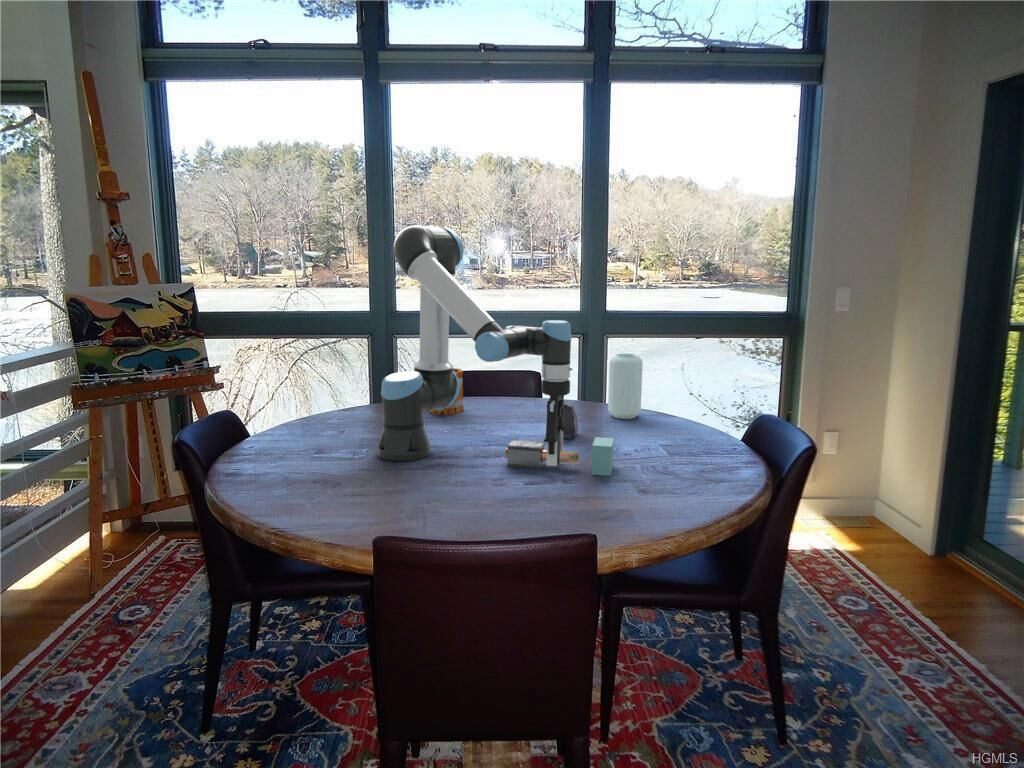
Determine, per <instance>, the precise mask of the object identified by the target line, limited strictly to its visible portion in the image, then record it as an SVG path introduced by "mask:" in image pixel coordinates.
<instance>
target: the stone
mask: <svg viewBox="0 0 1024 768" xmlns="http://www.w3.org/2000/svg"><path fill="white" fill-rule="evenodd" d="M575 409H576V408H575V406H574V403H573V402H572V403H569V402H565V401H564V427H566V431H563V430H562V431H563V439H564V438H565V439H570V440H571V439H574V438H575V437H576V435H577V433H578V431H579V425H578V415H577V413H576V410H575Z"/></svg>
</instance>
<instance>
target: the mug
mask: <svg viewBox="0 0 1024 768" xmlns="http://www.w3.org/2000/svg"><path fill="white" fill-rule="evenodd" d="M453 371H454V372H455V373H456V375H457V377H458V378H459V381H460V391H459V395H458V397H457V399H456V400H455V401H454V402H453V403H452V404H450V405H448V406H446V407H444V408H442V409H437V410H433V411H430V412H429V414H432V415H439V416H448V415H449V416H451V415H458V414H461V413H463V412H464V411H465V410H464V409H465V408H464V384H463V383H464V382H463V379H464V378H463V376H464V371H463V370H462V369H461V368H454V367H453Z"/></svg>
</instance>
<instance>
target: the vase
mask: <svg viewBox="0 0 1024 768" xmlns="http://www.w3.org/2000/svg"><path fill="white" fill-rule="evenodd" d="M608 367H609V369H608V371H609V372H608V373H609V374H608V395H607V396H608V399H607V401H608V402H607V409H608V412H609V414H610V415H611V416H612V417H614V418H615V419H619V420H631V419H635V418H636V417H637V416H638V415H639V414H640V413H641V410H642V409H641V408H642V389H643V388H642V387H643V360H642V358H641V357H640V356H638V354H635V353H627V352H626V353H623V352H622V353H617V354H616V353H615V355H613V356H612V357H611V358H610V360H609V366H608Z"/></svg>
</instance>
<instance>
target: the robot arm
mask: <svg viewBox="0 0 1024 768" xmlns="http://www.w3.org/2000/svg"><path fill="white" fill-rule="evenodd" d="M393 254H394V258H395V260H396V262H397V264H398V266H399V267H400V269H401V270H402V271H403V272H404V274H406V275H407V277H408V278H409V279H411V280H415V281H417V282H418V283H419V284H420V285H419V287H420V289H419V294H420V296H419V297H420V298H419V303H420V305H419V360H418V361H417V362H416V363H414V367H413V368H414V370H405V371H398V372H393V373H390V374H389V375H387V376H385V377H384V378H383V379H382V382H381V392H380V395H381V408H382V411H381V412H382V432H381V435H380V439H379V442H378V446H377V456H378V458H380V459H381V460H382V459H383V460H386V461H392V462H411V461H416V460H417V461H418V460H421V459H424V458H426V457H428V456H429V455H431V452H432V450H431V443H430V441H429V437H428V435H427V432H426V429H425V421H424V420H425V419H424V415H425V414H427V413H430V411H433V410H437V409H442V408H444V407H446V406H448V405H450V404H452V403H453V402H454V401H455V400H456V399H457V397H458V395H459V391H460V381H459V378H458V377H457V375H456V373H455V372H454V371H453V368H454V365H453V364H452V363H451V362H450V361H449V342H450V341H449V339H450V337H449V336H450V335H449V332H450V331H449V330H450V317H451V318H452V319H453V320H454V321H455V323H457V325H458V326H459V327H460V328H462V330H463V331H464V332H465V333H466V335H468V337H470V338H471V339H472V340H473V342H474V349H475V352H476V355H477V356H478V358H479V359H480V360H482V361H484V362H487V363H491V362H492V363H493V362H501V361H503V360H506V359H509V358H510V359H511V358H514V357H518V356H519V357H520V356H523V355H529V356H530V355H531V356H541V378H542V380H541V393H542V394H543V395H546V396H549V399H548V400H547V403H546V424H545V425H546V426H545V438H543V442H544V443H546V450H547V461H546V466H550V467H551V466H552V467H557V465H558V464H557V442H556V441H557V429H562V430H563V431H566V427H564V402H565V398H564V397H565V396H567V395H569V394H570V393H571V380H570V378H571V371H573V367H572V366H571V351H572V350H571V348H572V347H571V345H572V333H571V332H572V331H571V330H572V328H571V323H570V322H569V321H567V320H558V319H557V320H556V319H555V320H553V319H549V320H545V321H543V322H542V325H541V327H537V326H535V327H534V326H526V325H525V326H524V325H520V324H518V325H517V324H516V325H507V326H505V328H502V326H501V325H499V324H498V323H497V321H495V320H494V319H493V318H492V317H491V316H490V315H489V313H488V312H487V311H486V310H485V309H484V308H483V307H482V306H481V304H479V302H477V301H476V299H475V298H473V296H472V295H471V294H470V293H468V291H467V290H466V289H465V288H464V287H463V286H462V285H461V284H460V283H459V282H458V281H457V280H456V278H454V277H455V276H456V267H457V266H458V265H460V262H461V261H462V260H463V257H464V245H463V241H462V239H461V238H460V236H459V235H458V234H457V232H456V231H454V230H453V229H451V228H448V227H444V226H428V225H427V226H426V225H425V226H424V225H410V226H407V227H405V228H404V229H402V230H401V231H399V233H398V234H397V236H396V237H395V240H394V243H393ZM563 431H562V437H561V451H564V438H563Z"/></svg>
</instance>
